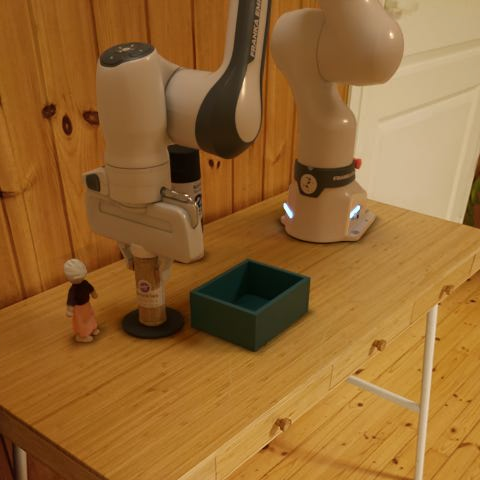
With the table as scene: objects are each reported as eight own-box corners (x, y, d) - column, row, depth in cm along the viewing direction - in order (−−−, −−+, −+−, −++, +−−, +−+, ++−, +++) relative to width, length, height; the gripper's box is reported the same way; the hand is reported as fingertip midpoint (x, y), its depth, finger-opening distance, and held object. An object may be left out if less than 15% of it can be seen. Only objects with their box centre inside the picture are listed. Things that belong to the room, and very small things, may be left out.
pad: (151, 302, 104) (151, 300, 104) (196, 319, 100) (196, 317, 99) (109, 326, 98) (108, 323, 98) (155, 345, 93) (155, 343, 93)
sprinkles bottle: (137, 327, 97) (127, 245, 88) (141, 313, 100) (132, 233, 92) (165, 327, 97) (159, 246, 88) (169, 313, 100) (163, 234, 92)
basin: (247, 291, 108) (247, 258, 104) (308, 311, 102) (311, 277, 98) (190, 326, 98) (189, 291, 94) (255, 351, 92) (255, 315, 88)
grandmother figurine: (83, 323, 99) (69, 248, 91) (106, 326, 98) (94, 250, 90) (65, 348, 93) (49, 270, 85) (89, 351, 92) (75, 273, 84)
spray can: (199, 264, 116) (194, 154, 104) (165, 261, 117) (156, 152, 105) (207, 251, 121) (204, 144, 109) (175, 248, 122) (168, 141, 110)
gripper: (211, 190, 82) (214, 284, 91) (104, 163, 91) (116, 251, 100) (181, 203, 78) (187, 300, 87) (72, 173, 87) (87, 264, 96)
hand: (148, 274), depth 93 cm, fingers open, 5 cm apart
